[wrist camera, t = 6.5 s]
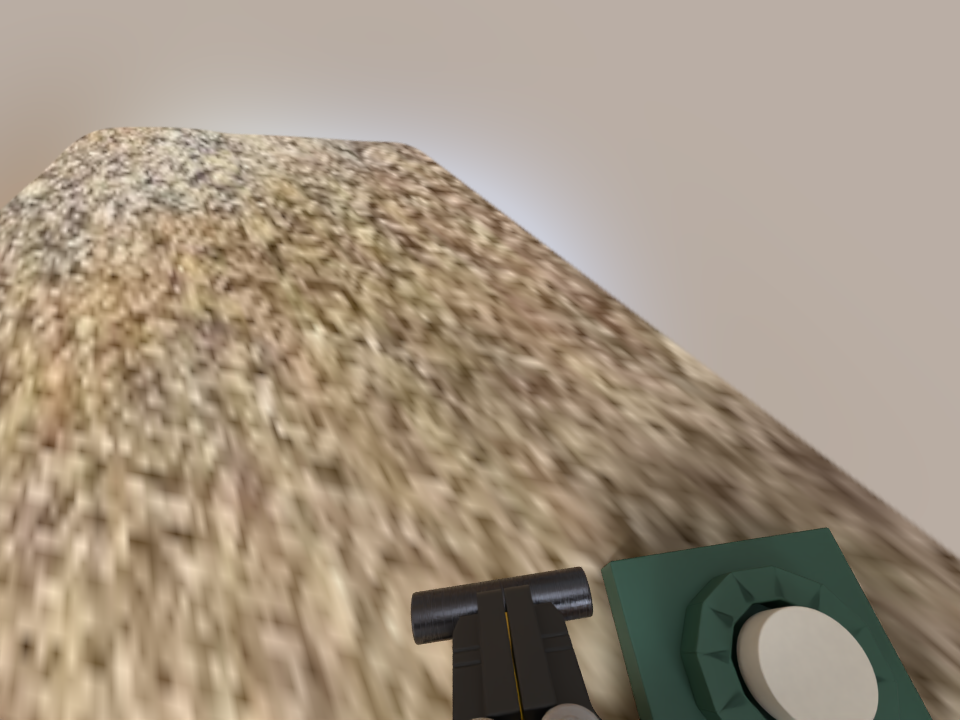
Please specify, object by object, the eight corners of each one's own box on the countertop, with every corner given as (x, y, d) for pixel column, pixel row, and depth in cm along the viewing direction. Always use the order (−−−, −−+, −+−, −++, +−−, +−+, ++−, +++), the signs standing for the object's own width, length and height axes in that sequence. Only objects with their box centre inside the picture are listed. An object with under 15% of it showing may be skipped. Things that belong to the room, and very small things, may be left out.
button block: (801, 537, 22) (855, 516, 19) (926, 785, 17) (1030, 818, 14) (600, 569, 22) (618, 553, 18) (669, 832, 17) (710, 877, 13)
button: (810, 602, 17) (838, 598, 16) (866, 721, 15) (905, 728, 14) (719, 617, 17) (739, 614, 16) (764, 739, 15) (792, 748, 14)
